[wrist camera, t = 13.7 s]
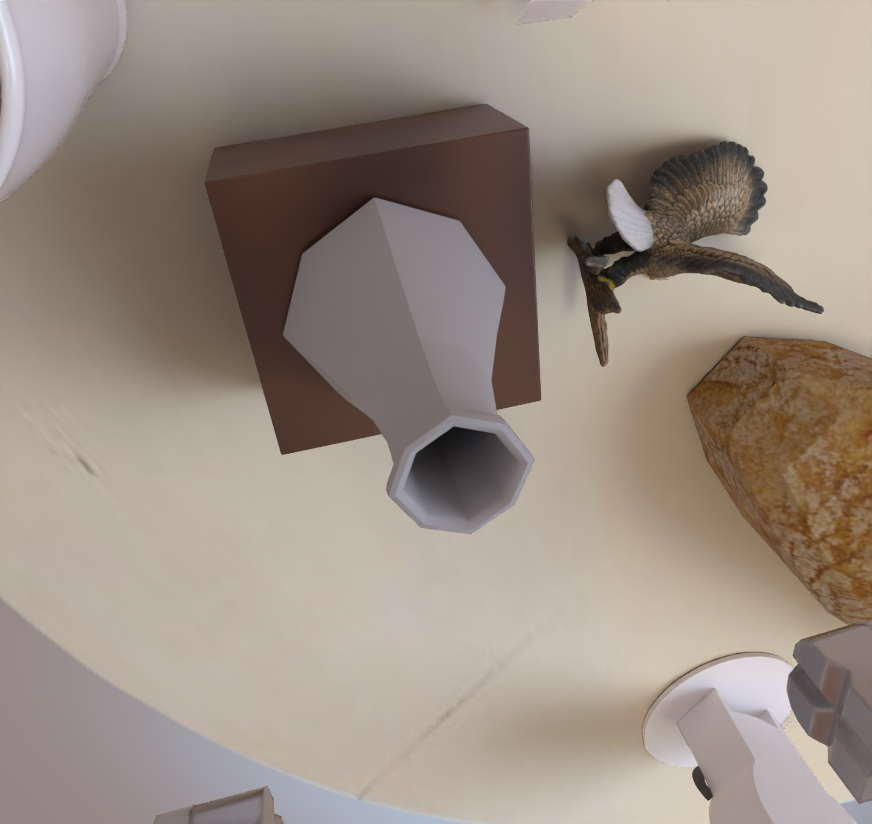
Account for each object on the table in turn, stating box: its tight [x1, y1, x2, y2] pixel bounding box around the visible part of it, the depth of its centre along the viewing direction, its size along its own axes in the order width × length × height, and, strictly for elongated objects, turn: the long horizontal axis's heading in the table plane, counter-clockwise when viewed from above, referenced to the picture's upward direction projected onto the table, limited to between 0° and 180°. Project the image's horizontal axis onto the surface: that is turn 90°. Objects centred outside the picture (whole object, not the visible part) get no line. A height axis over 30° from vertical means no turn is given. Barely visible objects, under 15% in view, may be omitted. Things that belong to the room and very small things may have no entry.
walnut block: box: [205, 104, 541, 455], centre depth 27 cm, size 10×10×5 cm
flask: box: [283, 197, 534, 534], centre depth 20 cm, size 7×7×10 cm
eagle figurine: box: [567, 142, 824, 367], centre depth 28 cm, size 8×7×9 cm
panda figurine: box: [642, 653, 857, 824], centre depth 44 cm, size 12×11×15 cm
